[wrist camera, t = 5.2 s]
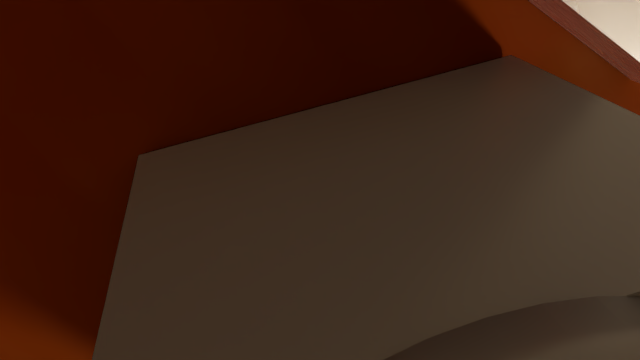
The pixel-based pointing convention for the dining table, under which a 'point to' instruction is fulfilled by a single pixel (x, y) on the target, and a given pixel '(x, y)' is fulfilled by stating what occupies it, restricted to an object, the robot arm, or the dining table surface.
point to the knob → (391, 230)
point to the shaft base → (602, 28)
